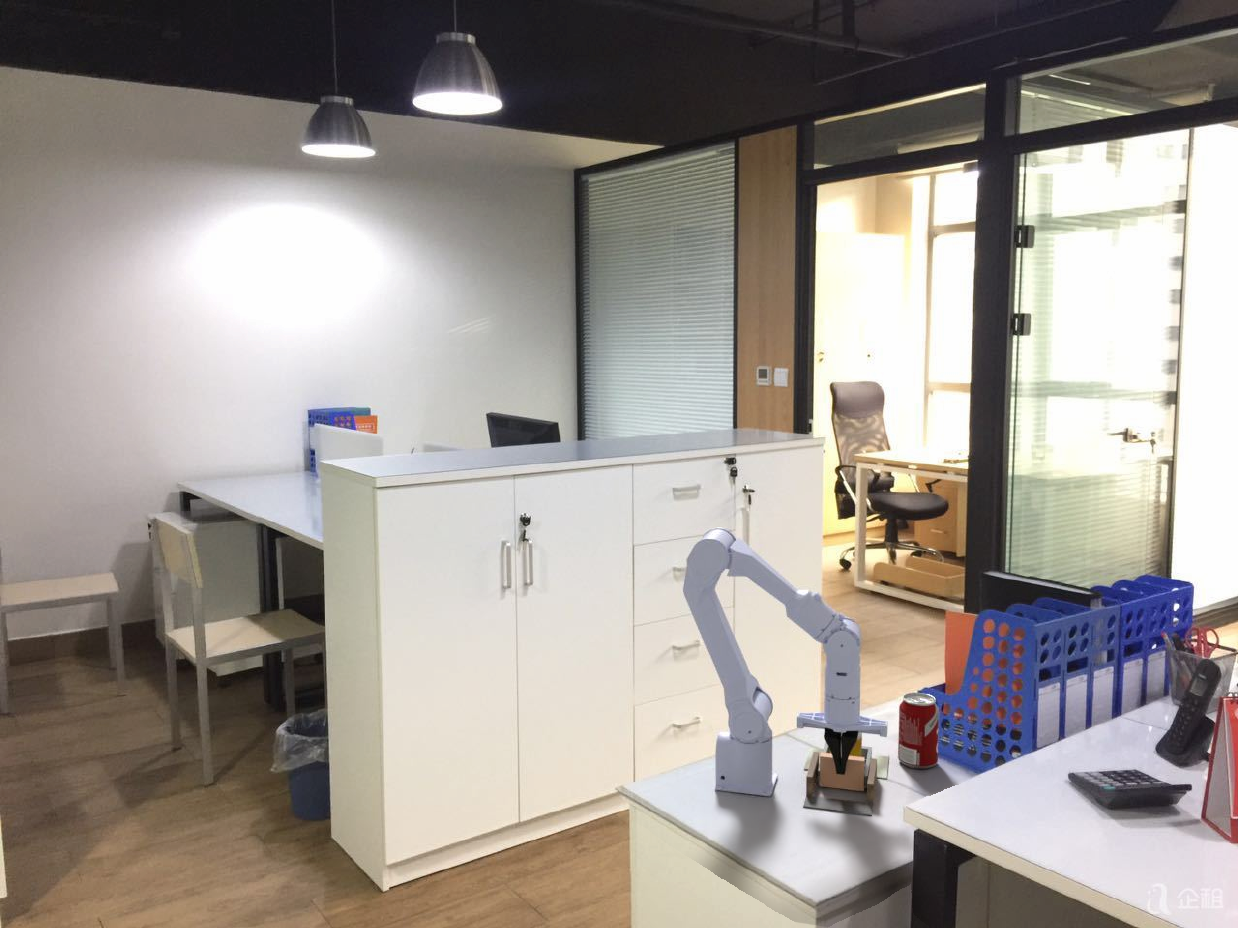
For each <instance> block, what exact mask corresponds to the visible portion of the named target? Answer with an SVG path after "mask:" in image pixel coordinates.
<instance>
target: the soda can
mask: <svg viewBox="0 0 1238 928" xmlns="http://www.w3.org/2000/svg"><path fill="white" fill-rule="evenodd" d="M902 699H903V700H902V702H900V704H899V705H898V706H899V708H898V738H897V739H898V740H897V741H898V746H897V747H898V749H897V752H898V753H897V758H898V760H899V762H900V763H902V764H903V765H905V766H907V767H909V768H912V769H914V770H915V769H917V770H926V769H929V768H933V767H935V766H936V765H937V764H938V762H939V761H938V760H939V734H940V733H939V731H940V729H939V728H940V727H939V726H940V709H939V706H938V705H937V704H936V703H937V700H936V698H935V696H933V695H931V694H927V693H923V692H910V693H909V692H908V693H906V694H904V695H903V696H902Z"/></svg>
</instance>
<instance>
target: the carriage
mask: <svg viewBox="0 0 1238 928" xmlns="http://www.w3.org/2000/svg"><path fill="white" fill-rule="evenodd" d="M841 757H842V755H841ZM871 758H873V747H872V746H865V745H862V752H861V757H858V756H849V758H848V761H847V764H846V771H845V775H841V774H836V768H835V763H834V760H833V757H832V754H830V749H829V747H828V745H827V743H826V741H824V746H823V753H821V755H820V765H819V768H818V777H817V782H818V783H819V786H820V787H826V788H835V789H841V790H842V789H844V790H851V791H860V792H864V790H865V788H867V782H868V776H869V769H870V763H871ZM865 760H866V761H865Z"/></svg>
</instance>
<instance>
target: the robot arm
mask: <svg viewBox="0 0 1238 928" xmlns="http://www.w3.org/2000/svg"><path fill="white" fill-rule="evenodd" d="M685 568H686V569H685V573H684V574H685V575H684V578H683V579H684V580H683V586H682V592H683V596H684V599H685V601H686V603H687V606H688V608H689V610H690V612H691V614H692V617H693V619H694V622H695V624H696V626H697V629H698V631H699V634H700V636H701V638H702V641H703V643H704V645H705V647H706V648H705V649H706V650H707V652H708V654H709V657H710V660H711V661H712V665H713V666H714V668H715V671H716V673H717V676H718V677H719V680H720V683H721V685H722V687H723V695H724V704H725V705H724V706H725V708H726V710H727V713H728V722H727V724H728V728H729V730H719V731H718V733H717V738H716V744H715V753H714V755H715V756H714V757H715V761H714V762H715V763H714V764H715V785H714V789H715V791H716V790H717V791H724V792H730V793H738V794H739V793H740V794H749V795H757V796H764V797H771V796H772V794H773V791H774V788H775V785H776V782H777V779H778V774H777V773H773V730H772V728H771V727H770V726H769V723H768V722H769V719H770V716H772V713H773V709H774V705H773V700H772V698H771V696H770V695H769V693H768V692H766V690H764V689H763V688H762V687H761V685H760V683H759V681H758V679H757V678H756V677H755V676H754V675H752V673H751V672H750V670H749V667H748V665H747V662H746V660H745V658H744V655H743V653H742V651H741V648H740V646H739V644H738V642H737V639H736V637H735V633H734V632H733V630H732V627H731V625H730V623H729V620H728V618H727V616H726V615H727V614H726V613H725V611H724V609H723V606H722V604H721V601H720V599H719V597H718V595H717V592H716V587H717V585H718V583H719V581H720V578H721V576H722V574H723V573H724V571H725V570H728V572H727V575H726V577H730V578H731V577H733V578H734V577H742V578H743V577H745V578H748V579H749V580H750V581H752V582H753V583H754V584H756V585H757V586H758V587H760V588H761V589H762V590H764V591H765V592H766V593H767V594H769V595H770V596H771V597H773V598H774V599H775V600H777V601H779V602H780V603H782V605H784V608H785V610H786V611H785V612H786V613H785V614H786V617H787V618H788V619H789V620H791V621H792V622H793V623H794V624H795V625H796V626H798V627H799V628H800V629H801V630H803V631H804V632H805V633H807V634H808V635H809V636H810V637H811V638H812V639H814V640H815V641H816V642H818V643H820V644H822V649H823V652H824V653H825V655H826V663H825V665H824V694H823V695H824V701H823V702H824V703H823V711H824V712H798V713H797V715H796V728H797V729H803V728H813V729H822V730H824V733H823V737H824V742H826V743H827V745H828V747H829V749H830V751H831V754H832V757H833V760H834V763H835V768H836V774H841V775H845V771H846V764H847V761H848V758H849V755H850V753H851V751H852V749H853V747H854V745H855V743H856V741H857V737H858V732H859V733H862V734H868V735H869V734H870V735H879V736H880V737H882V738H883V737H884V738H887V737H888V725H889V724H888V721H886V720H880V719H875V718H872V717H871V718H870V717H867V716H862V715H860V714H861V713H860V712H861V666H860V663H861V656H860V654H861V651H862V646H861V645H862V638H863V637H862V631H861V628H860V626H859V625H858V624H857V623H856V621H855V620H854V619H853V618H852V617H848V616H846V615H845V614H844V613H843V612H840V613H839V612H837V611H836V610H835V609H833V608H832V607H831V606H830V605H829V604H827V603H826V602H825V601H824V600H823V594H821V593H820V592H819V591H816V592H812V591H811V589H798V588H796V587H795V586H794V585H793V584H791V582H790V581H788V579H786V578H785V577H784V576H783V575H782V574H781V573H780V572H778V571H777V570H776V569H775V568H774V567H773V566H771V564H770V563H768V562H767V561H766V560H765V559H764V558H762V556H761V555H760V554H758V553H757V552H756V551H755V550H753V548H752V547H750V546H749V544H748V543H746V542H745V541H744V540H743V539H741V538H740V537H737V538H736V536H735V534H733V532H731V530H728V529H727V528H724V527H713V528H711V529H709V530H708V531H707V532H705V533H704V535H703V536H702V538H701V539H700V540H699V541H697V542H696V543H695V545H693V548H692V549H691V550H690V553H688V556H687V558H686V567H685ZM841 734H842V737H841ZM841 750H842V757H841Z"/></svg>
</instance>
